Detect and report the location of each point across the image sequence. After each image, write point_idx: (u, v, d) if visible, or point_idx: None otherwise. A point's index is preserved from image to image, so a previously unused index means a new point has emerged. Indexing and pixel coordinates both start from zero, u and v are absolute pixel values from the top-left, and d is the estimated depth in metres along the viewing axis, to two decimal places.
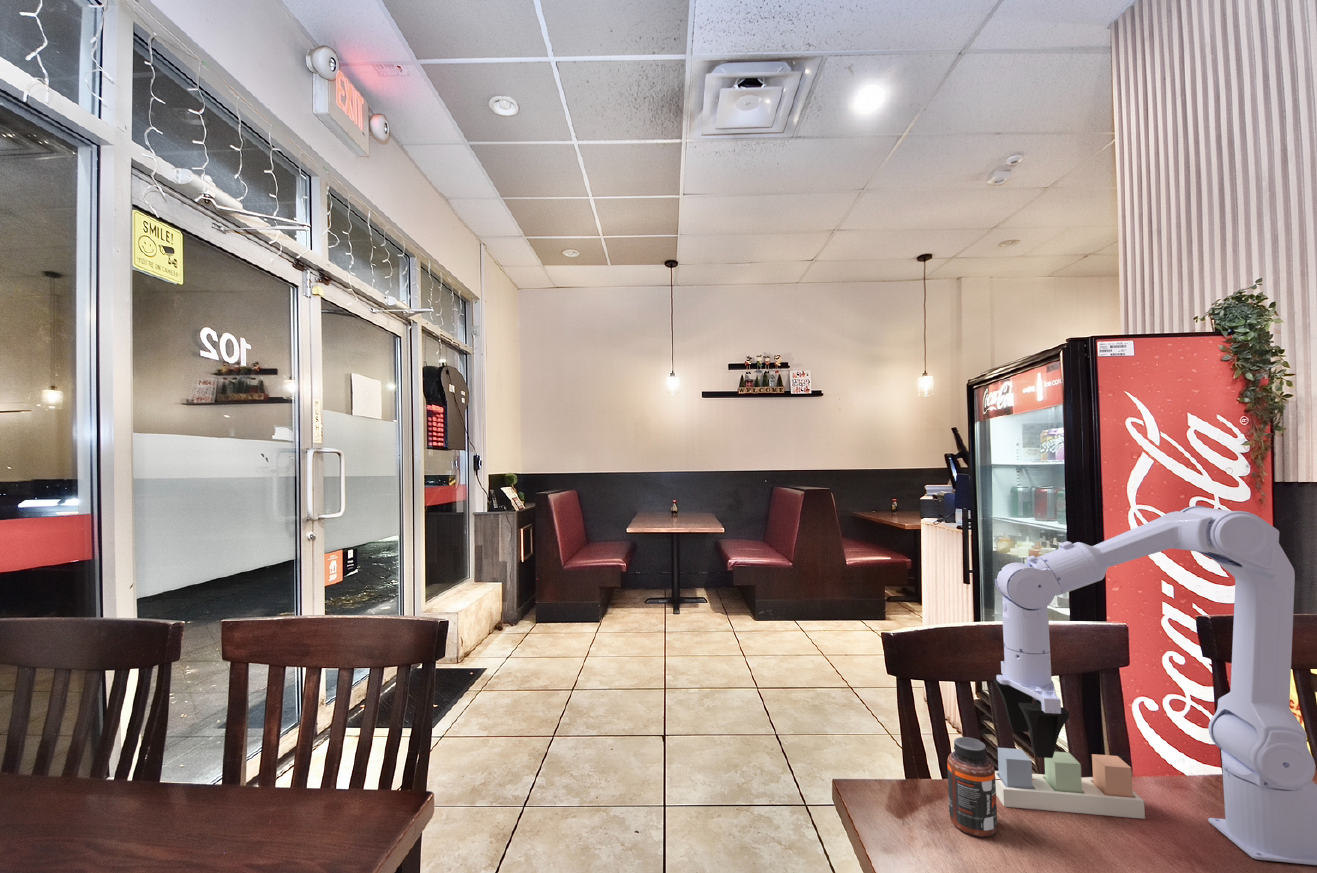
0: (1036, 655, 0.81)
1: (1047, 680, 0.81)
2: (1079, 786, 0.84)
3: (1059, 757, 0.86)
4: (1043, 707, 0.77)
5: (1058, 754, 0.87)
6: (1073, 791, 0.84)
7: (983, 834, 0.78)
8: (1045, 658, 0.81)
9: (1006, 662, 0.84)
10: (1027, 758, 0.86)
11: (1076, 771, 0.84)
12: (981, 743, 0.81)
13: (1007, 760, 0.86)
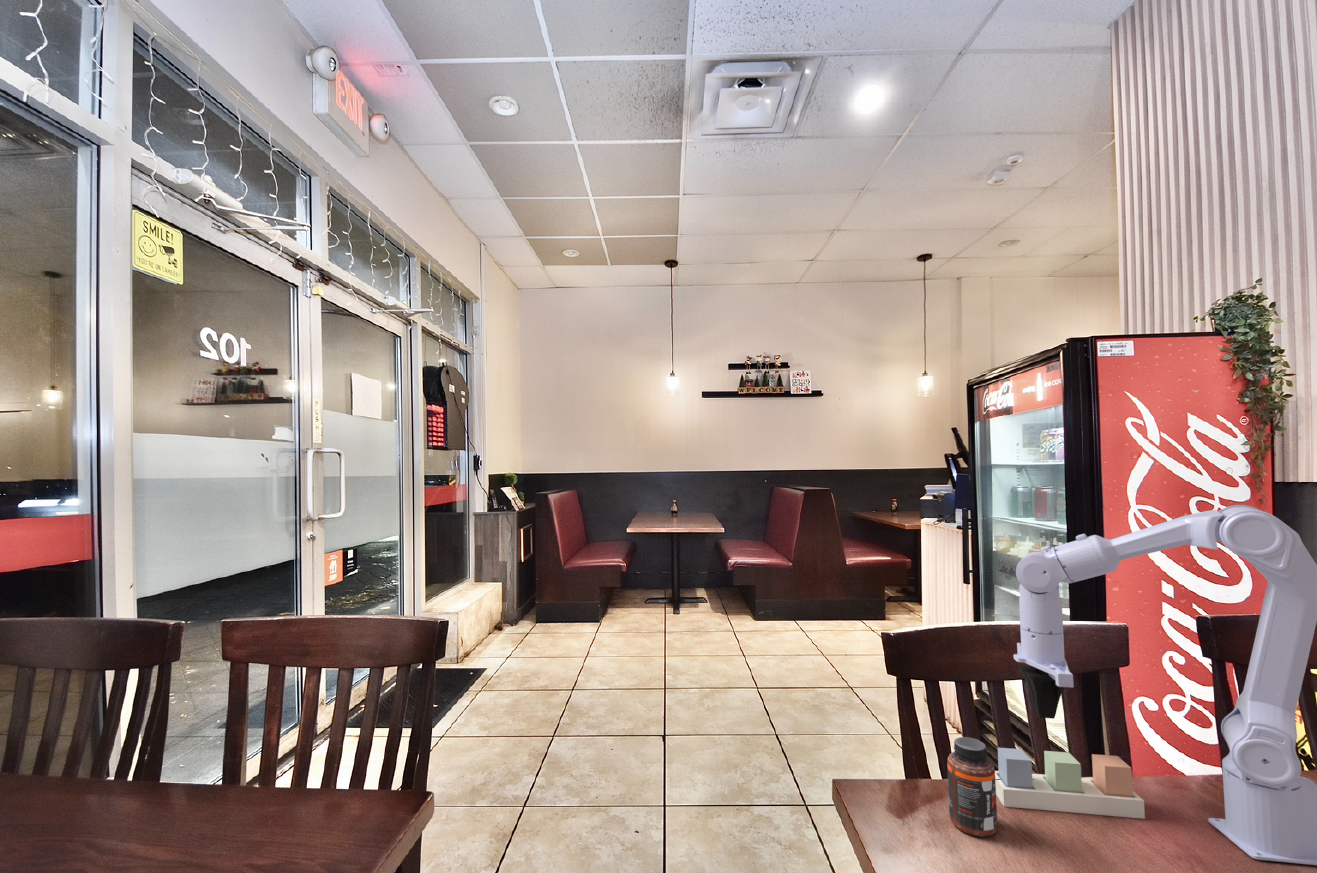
0: (1051, 635, 0.89)
1: (1061, 658, 0.89)
2: (1079, 786, 0.84)
3: (1059, 757, 0.86)
4: (1057, 681, 0.85)
5: (1058, 754, 0.87)
6: (1073, 791, 0.84)
7: (983, 834, 0.78)
8: (1059, 638, 0.89)
9: (1022, 642, 0.92)
10: (1027, 758, 0.86)
11: (1076, 771, 0.84)
12: (981, 743, 0.81)
13: (1007, 760, 0.86)
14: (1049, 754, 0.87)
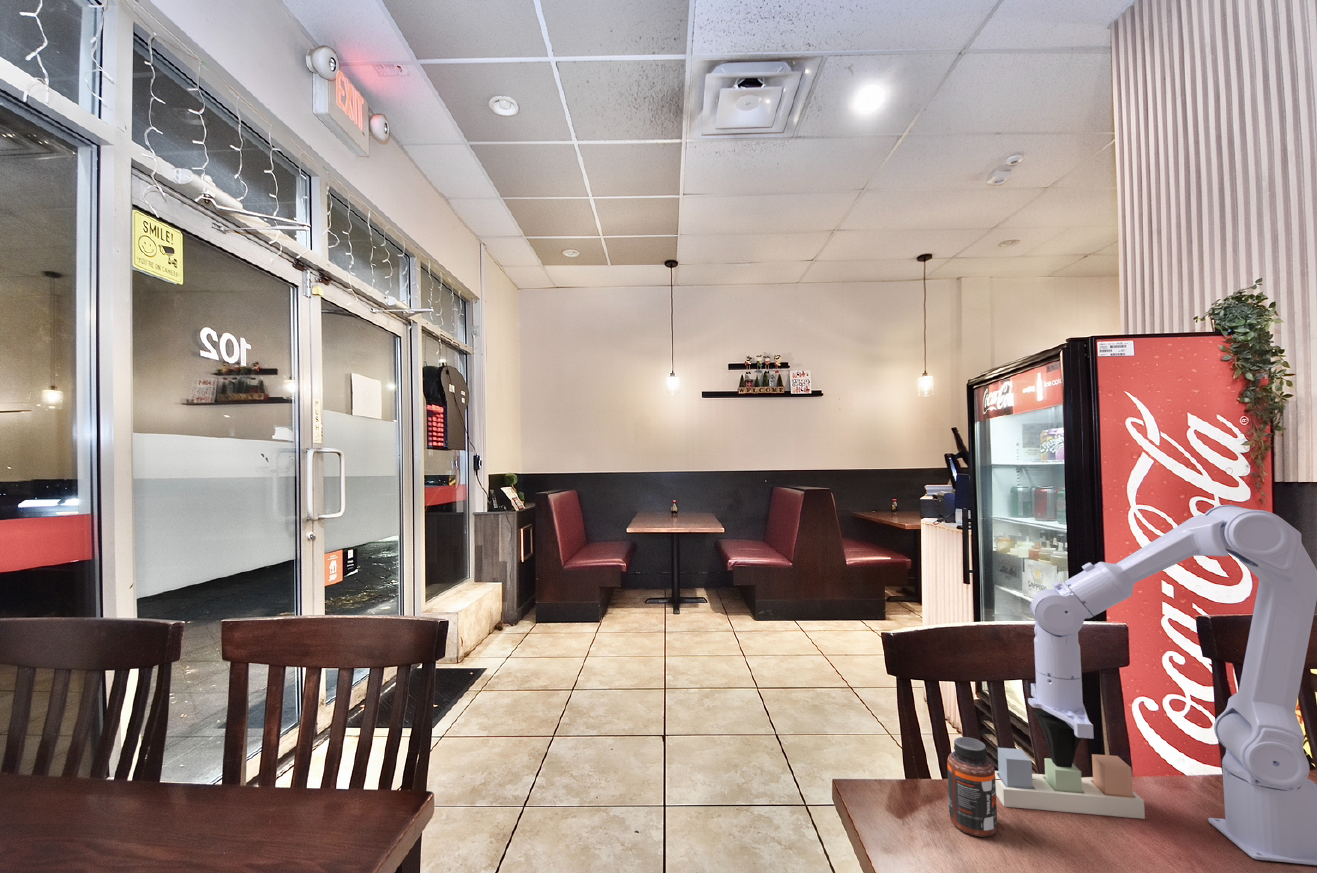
0: (1068, 680, 0.84)
1: (1079, 704, 0.84)
2: None
3: None
4: (1076, 732, 0.80)
5: None
6: None
7: (983, 834, 0.78)
8: (1077, 683, 0.84)
9: (1037, 686, 0.87)
10: (1027, 758, 0.86)
11: (1076, 779, 0.84)
12: (981, 743, 0.81)
13: (1007, 760, 0.86)
14: (1049, 761, 0.87)
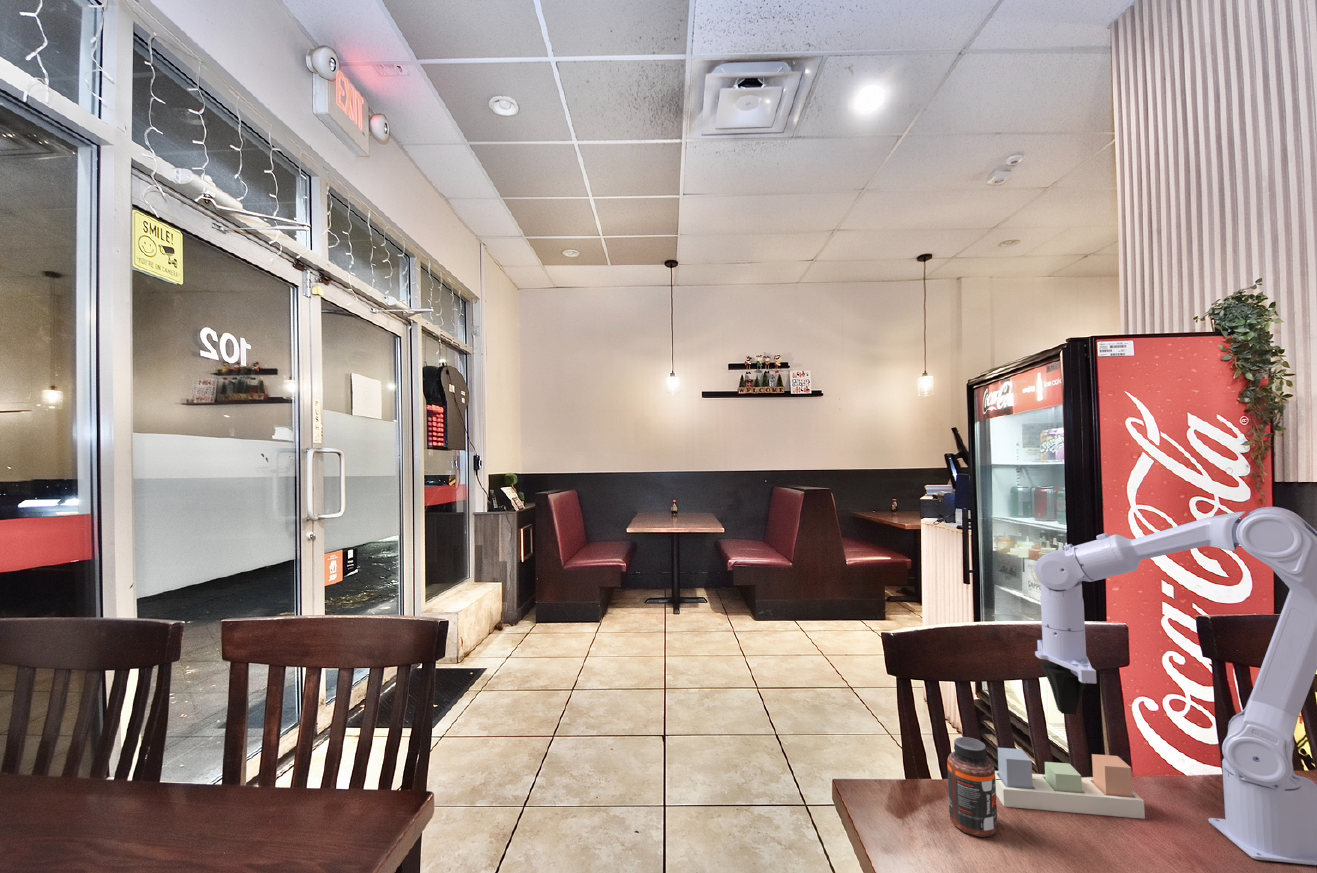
0: (1073, 632, 0.90)
1: (1083, 654, 0.90)
2: None
3: (1059, 768, 0.86)
4: (1080, 677, 0.86)
5: (1059, 765, 0.87)
6: None
7: (983, 834, 0.78)
8: (1081, 635, 0.90)
9: (1044, 639, 0.93)
10: (1027, 758, 0.86)
11: (1076, 782, 0.84)
12: (981, 743, 0.81)
13: (1007, 760, 0.86)
14: (1049, 765, 0.87)
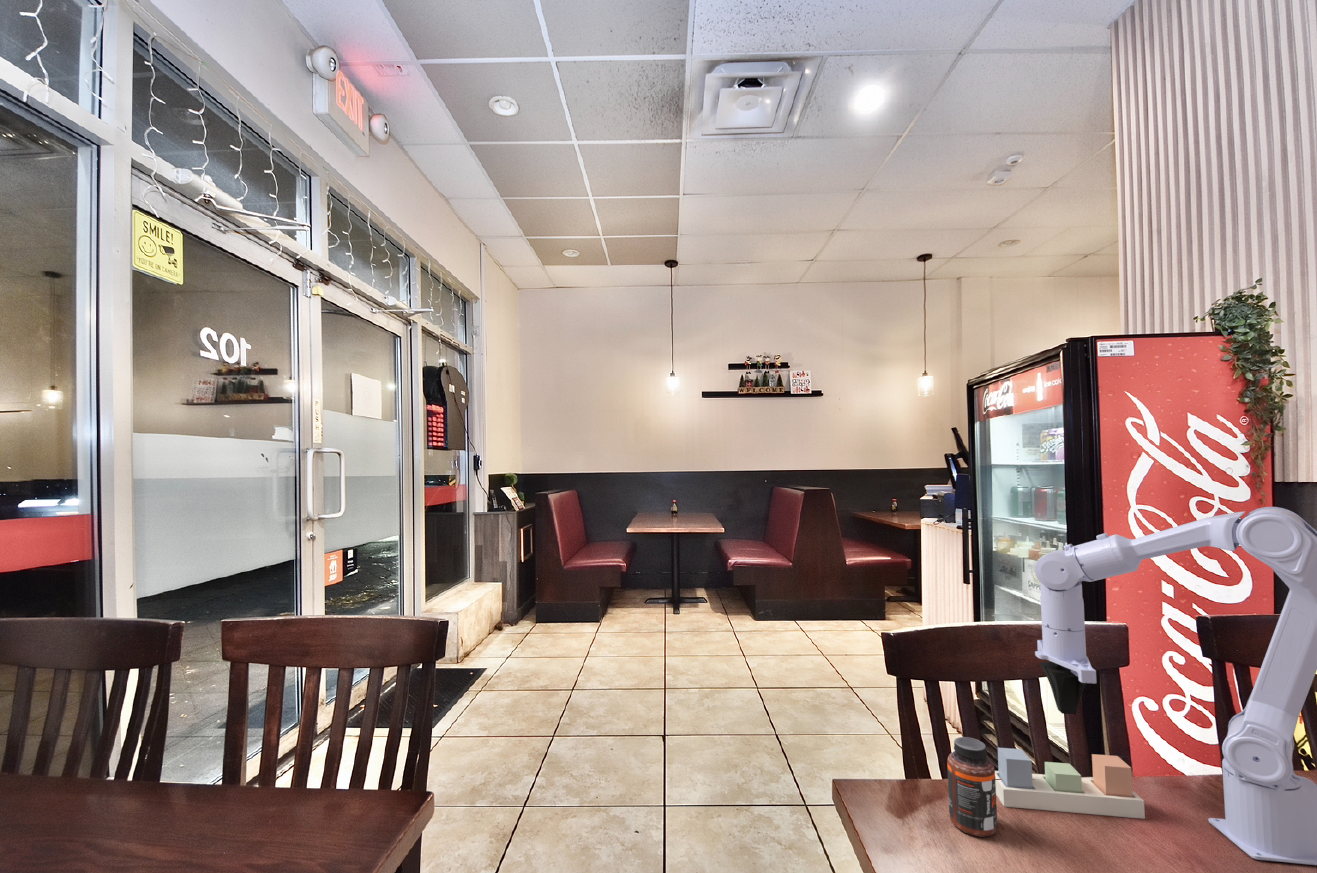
0: (1073, 632, 0.90)
1: (1083, 654, 0.90)
2: None
3: (1059, 768, 0.86)
4: (1080, 677, 0.86)
5: (1059, 765, 0.87)
6: None
7: (983, 834, 0.78)
8: (1081, 635, 0.90)
9: (1044, 639, 0.93)
10: (1027, 758, 0.86)
11: (1076, 782, 0.84)
12: (981, 743, 0.81)
13: (1007, 760, 0.86)
14: (1049, 765, 0.87)
